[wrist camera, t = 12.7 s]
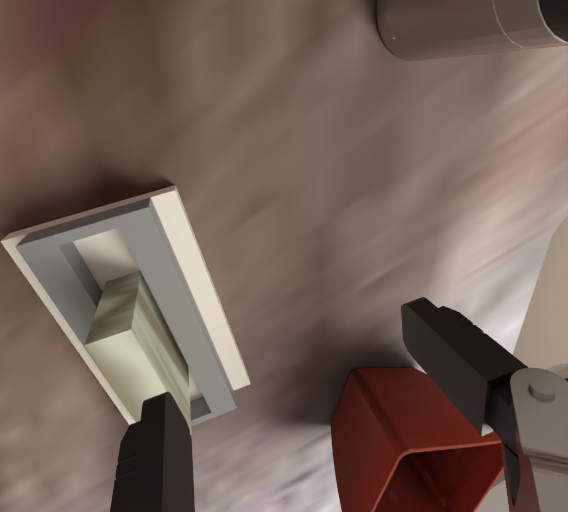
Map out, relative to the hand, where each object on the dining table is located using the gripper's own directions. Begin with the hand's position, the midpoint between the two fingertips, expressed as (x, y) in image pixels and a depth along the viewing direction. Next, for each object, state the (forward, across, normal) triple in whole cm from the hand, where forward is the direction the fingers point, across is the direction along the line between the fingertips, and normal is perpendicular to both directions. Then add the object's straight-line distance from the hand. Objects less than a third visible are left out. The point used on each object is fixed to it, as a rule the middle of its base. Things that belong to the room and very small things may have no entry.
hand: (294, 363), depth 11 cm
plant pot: (+28, -14, +43) cm, 53 cm away
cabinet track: (+28, +12, +14) cm, 34 cm away
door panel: (+26, +12, +14) cm, 32 cm away
